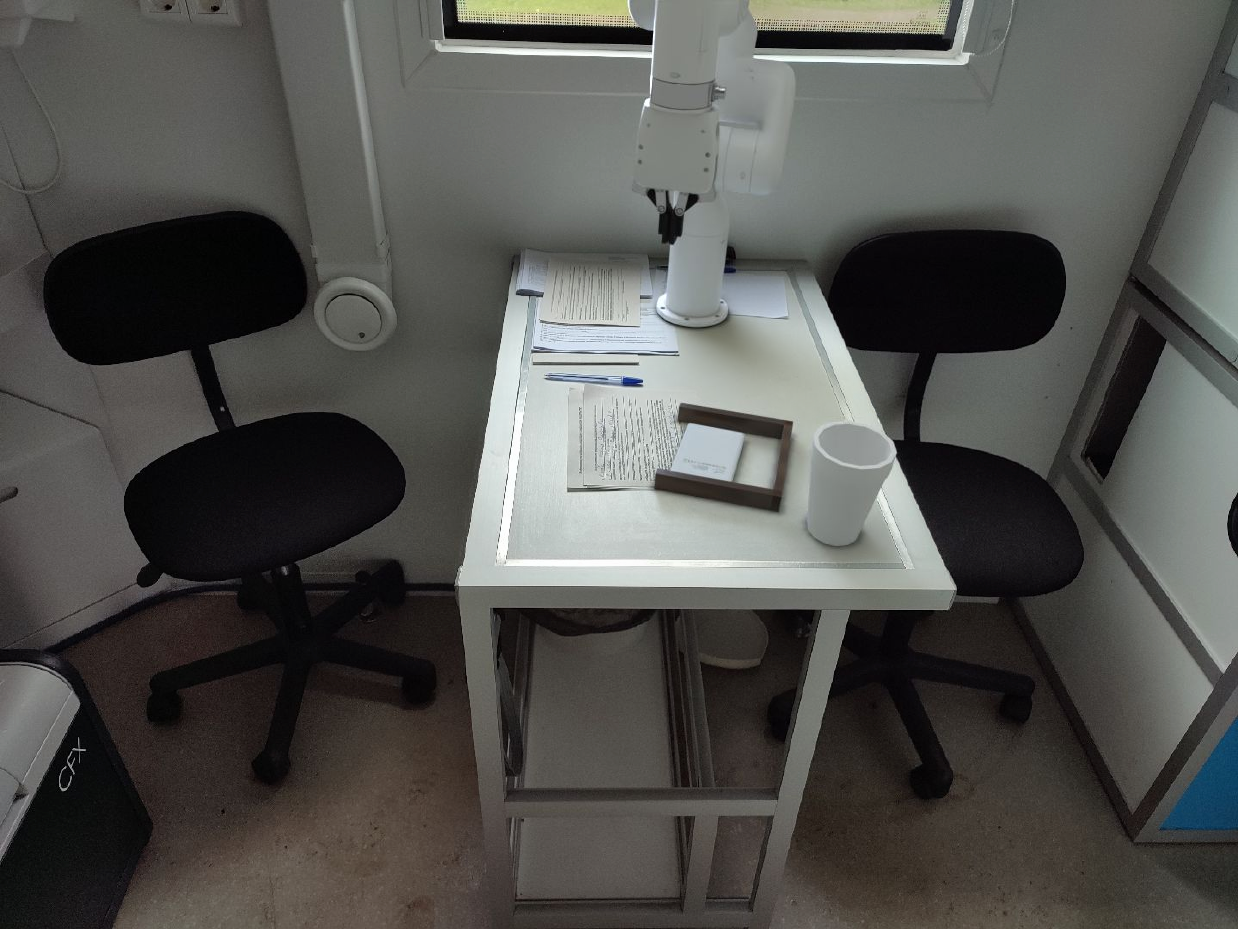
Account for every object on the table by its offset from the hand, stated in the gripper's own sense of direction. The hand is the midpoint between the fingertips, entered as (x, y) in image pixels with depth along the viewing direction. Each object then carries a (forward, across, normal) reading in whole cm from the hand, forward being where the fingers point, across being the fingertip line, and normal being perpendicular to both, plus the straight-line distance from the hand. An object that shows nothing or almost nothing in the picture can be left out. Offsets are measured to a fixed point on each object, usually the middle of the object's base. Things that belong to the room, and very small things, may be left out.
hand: (669, 240), depth 113 cm
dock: (+25, -12, +12) cm, 30 cm away
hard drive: (+25, -10, +13) cm, 30 cm away
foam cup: (+25, -27, +22) cm, 43 cm away
